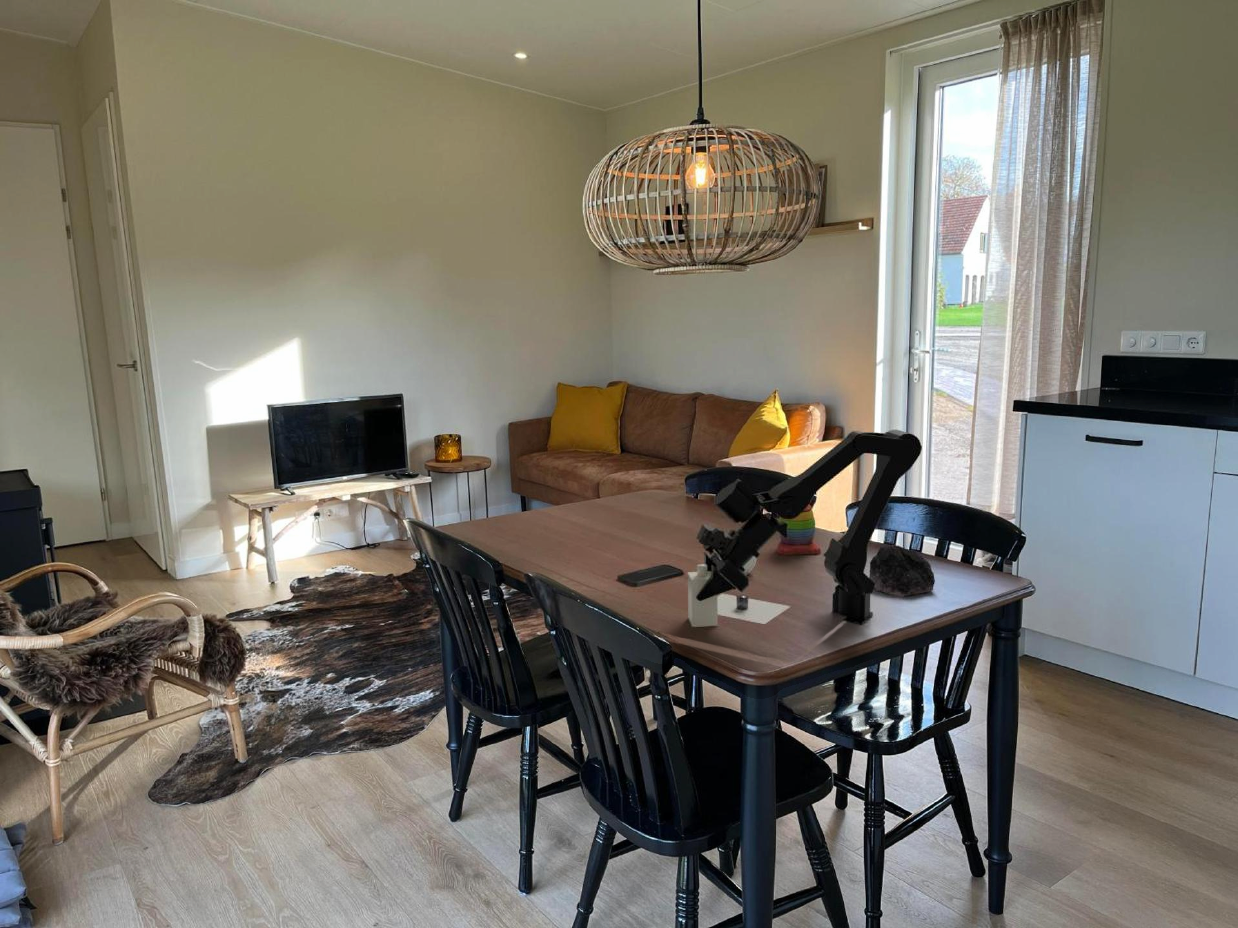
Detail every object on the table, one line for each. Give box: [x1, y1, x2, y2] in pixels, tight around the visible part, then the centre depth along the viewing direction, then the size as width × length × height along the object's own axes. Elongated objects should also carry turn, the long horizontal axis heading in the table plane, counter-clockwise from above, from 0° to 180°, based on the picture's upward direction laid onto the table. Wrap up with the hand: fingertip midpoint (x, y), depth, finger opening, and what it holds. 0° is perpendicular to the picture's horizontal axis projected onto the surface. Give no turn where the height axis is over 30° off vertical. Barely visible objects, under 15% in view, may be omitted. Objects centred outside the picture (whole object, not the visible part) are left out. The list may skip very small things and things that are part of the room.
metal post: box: [735, 594, 749, 610], centre depth 178 cm, size 2×2×2 cm
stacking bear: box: [776, 504, 822, 556], centre depth 221 cm, size 11×10×18 cm
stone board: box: [717, 593, 791, 625], centre depth 178 cm, size 16×12×1 cm
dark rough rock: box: [868, 544, 936, 597], centre depth 190 cm, size 13×14×10 cm
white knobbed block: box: [687, 563, 719, 628], centre depth 170 cm, size 5×5×12 cm
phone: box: [617, 564, 685, 587], centre depth 204 cm, size 8×1×15 cm
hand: (695, 594), depth 170 cm, fingers closed on white knobbed block, 5 cm apart
